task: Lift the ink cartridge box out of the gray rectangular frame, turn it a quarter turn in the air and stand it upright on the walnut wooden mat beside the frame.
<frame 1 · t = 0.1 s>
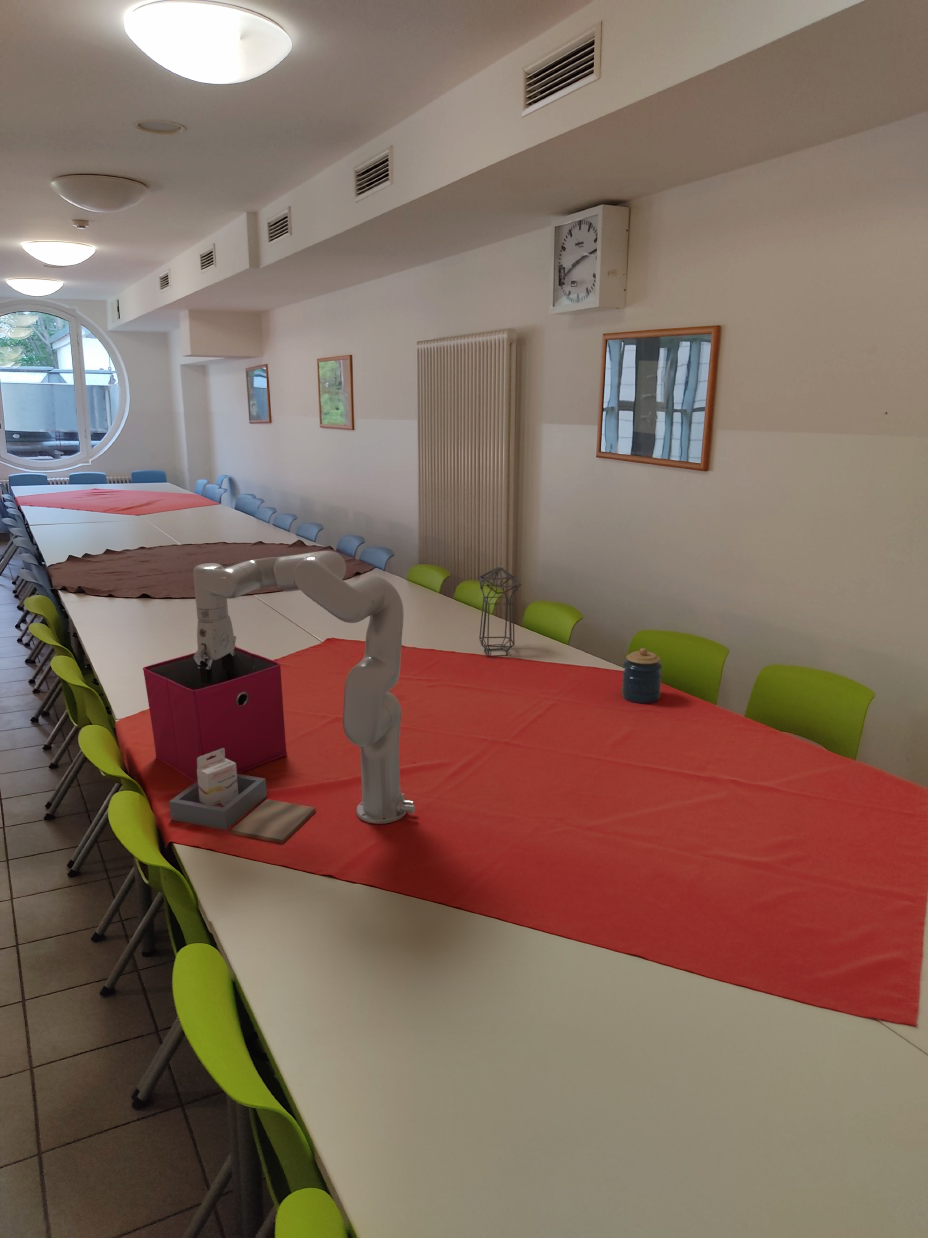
hand: (218, 676, 212), 31 cm above the table, tool pointing down, fingers open, 9 cm apart
ink cartridge box: (220, 808, 209), resting in gray rectangular frame
walnut mat: (274, 822, 202), on the table
geometric lantern: (498, 653, 328), on the table
canister: (640, 697, 281), on the table
gray rectangular frame: (220, 807, 209), on the table
storage bin: (221, 758, 237), on the table
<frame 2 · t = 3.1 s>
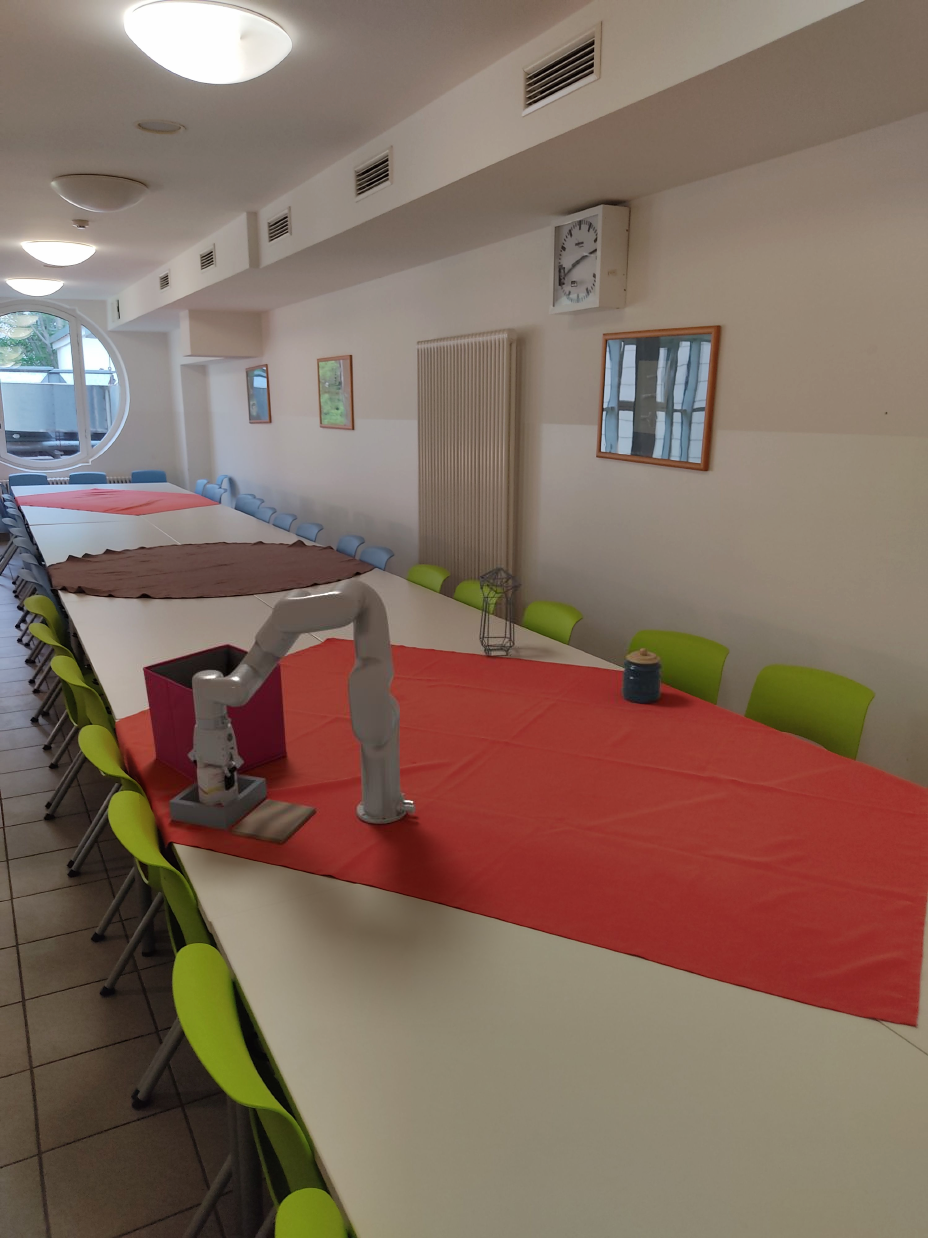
hand: (218, 785, 207), 6 cm above the table, tool pointing down, fingers closed on ink cartridge box, 6 cm apart
ink cartridge box: (220, 808, 209), resting in gray rectangular frame, touching gripper
everything else where it was.
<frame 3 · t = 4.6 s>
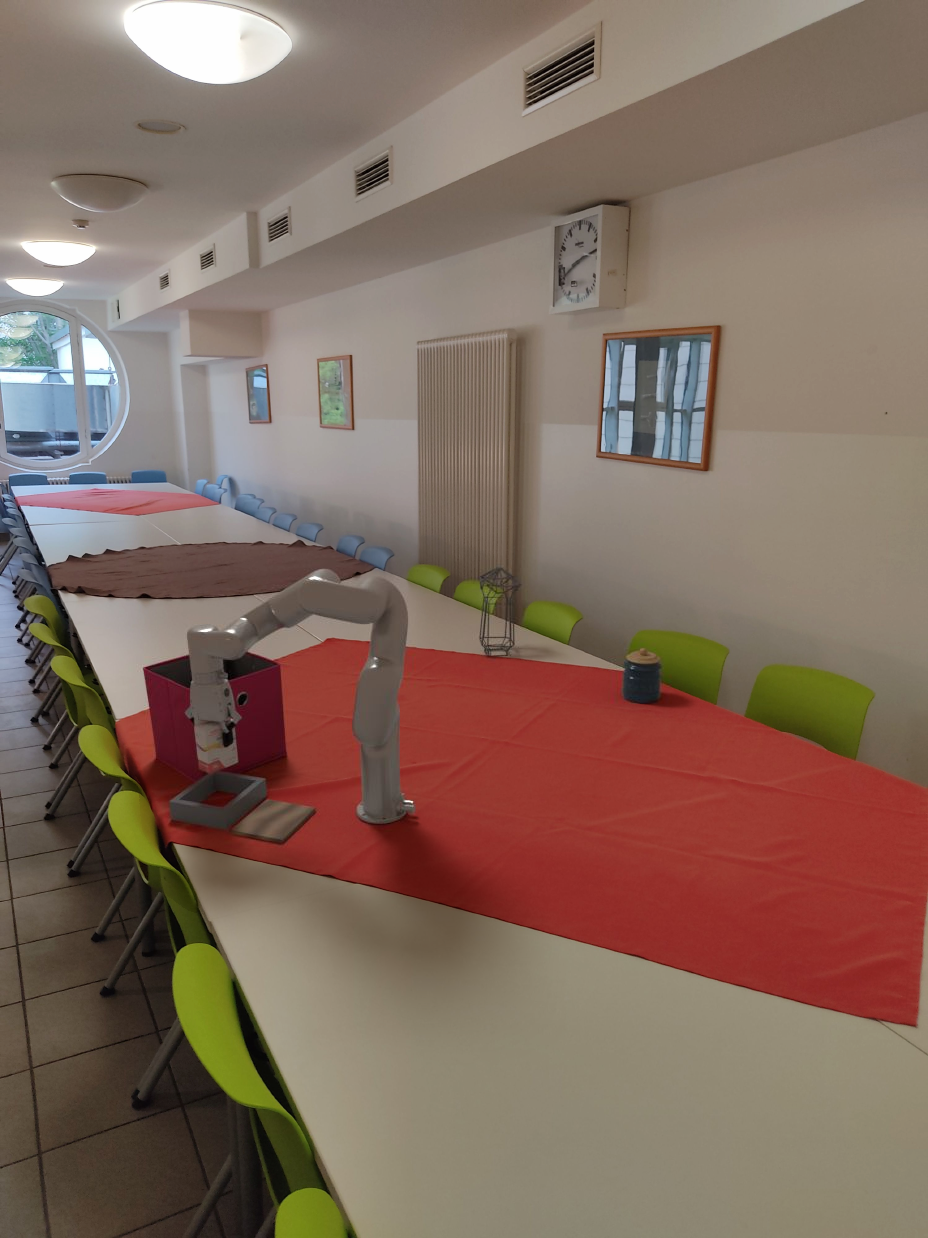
hand: (216, 743, 204), 18 cm above the table, tool pointing down, fingers closed on ink cartridge box, 6 cm apart
ink cartridge box: (219, 766, 206), point 11 cm above the table, touching gripper
everything else where it was.
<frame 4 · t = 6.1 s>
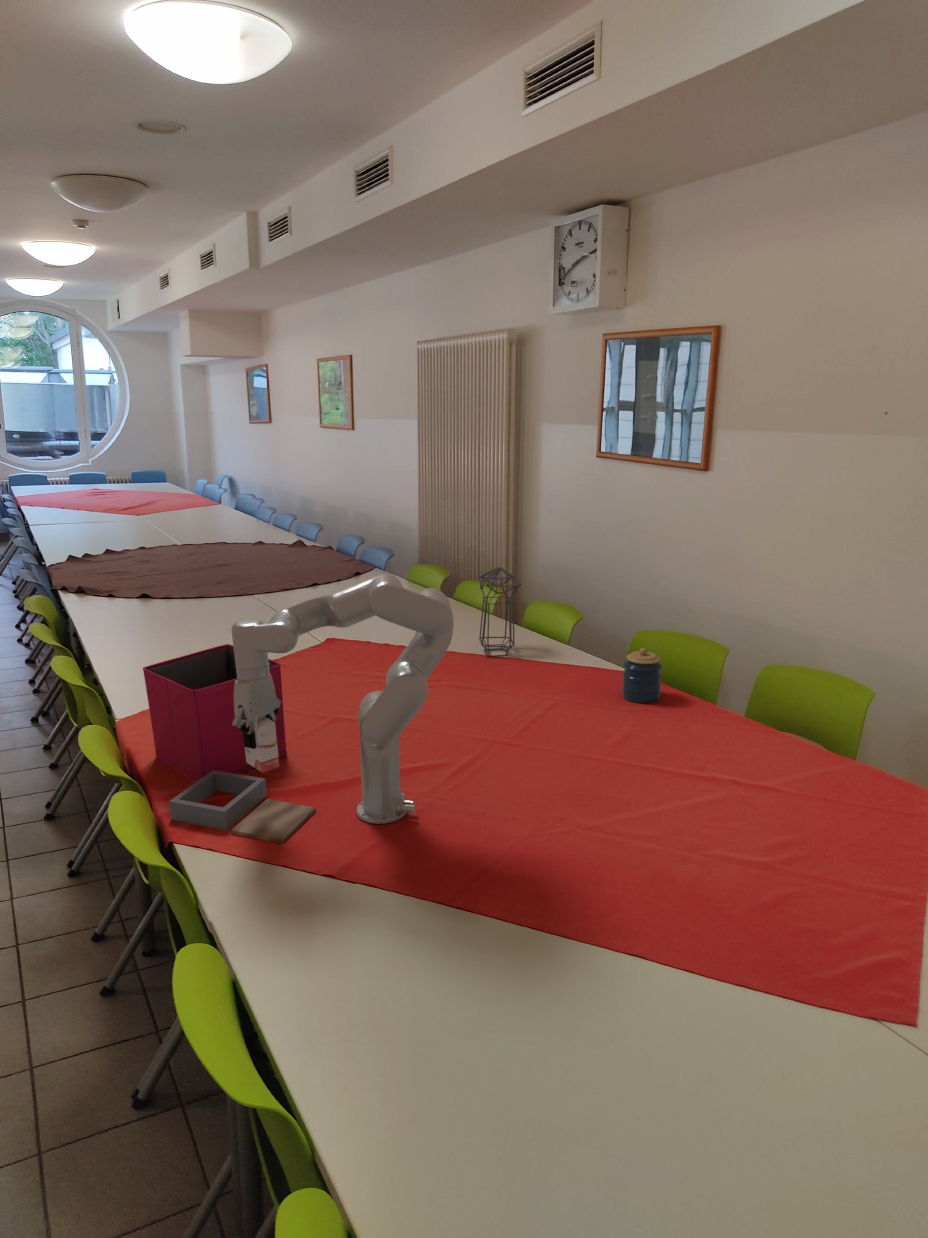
hand: (260, 741, 197), 21 cm above the table, tool pointing down, fingers closed on ink cartridge box, 6 cm apart
ink cartridge box: (263, 765, 199), point 15 cm above the table, touching gripper
everything else where it was.
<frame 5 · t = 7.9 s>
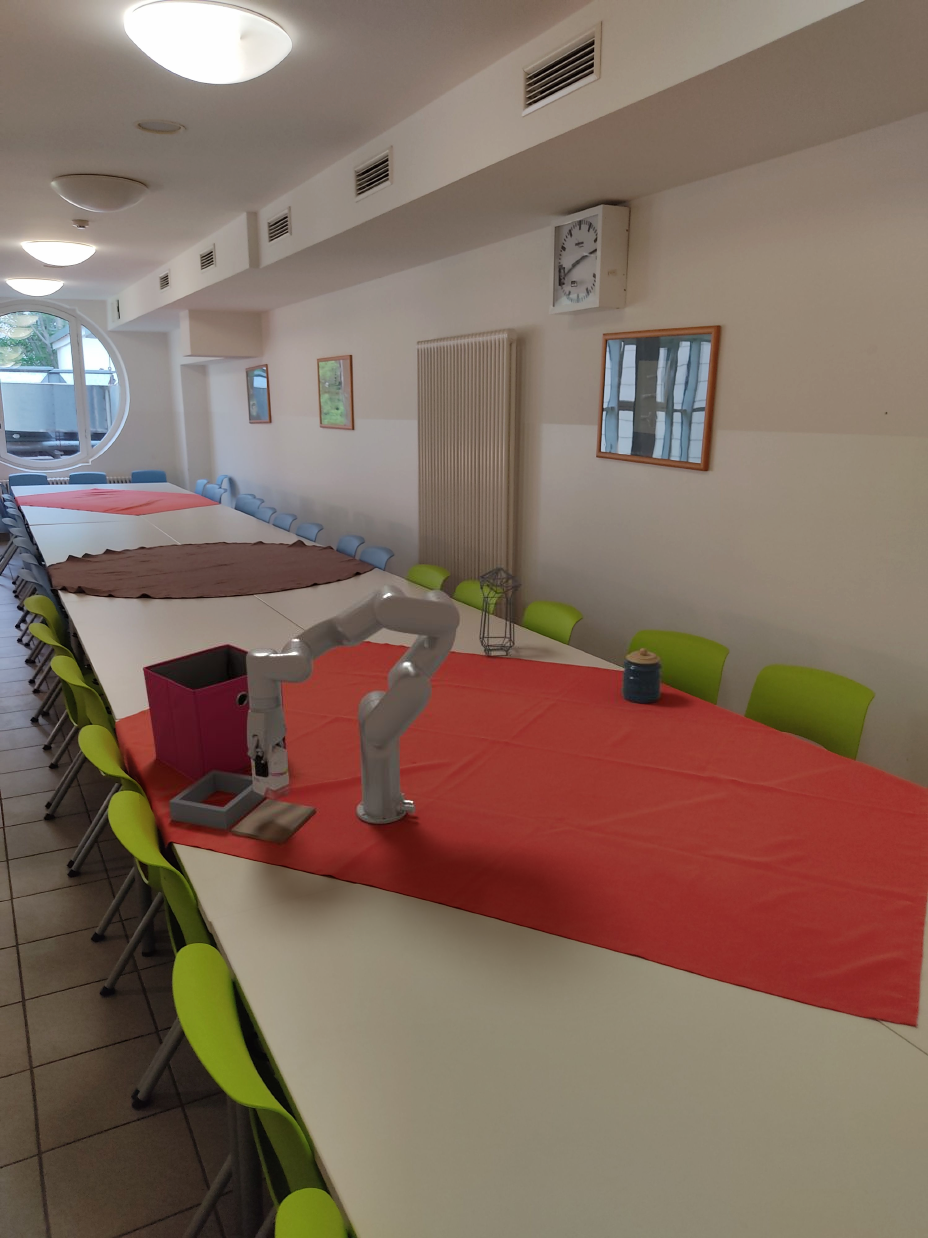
hand: (269, 769, 198), 14 cm above the table, tool pointing down, fingers closed on ink cartridge box, 6 cm apart
ink cartridge box: (271, 793, 199), point 8 cm above the table, touching gripper
everything else where it was.
when the fingers open (8 cm above the table, at t = 9.5 s): ink cartridge box stays where it is, resting on walnut mat.
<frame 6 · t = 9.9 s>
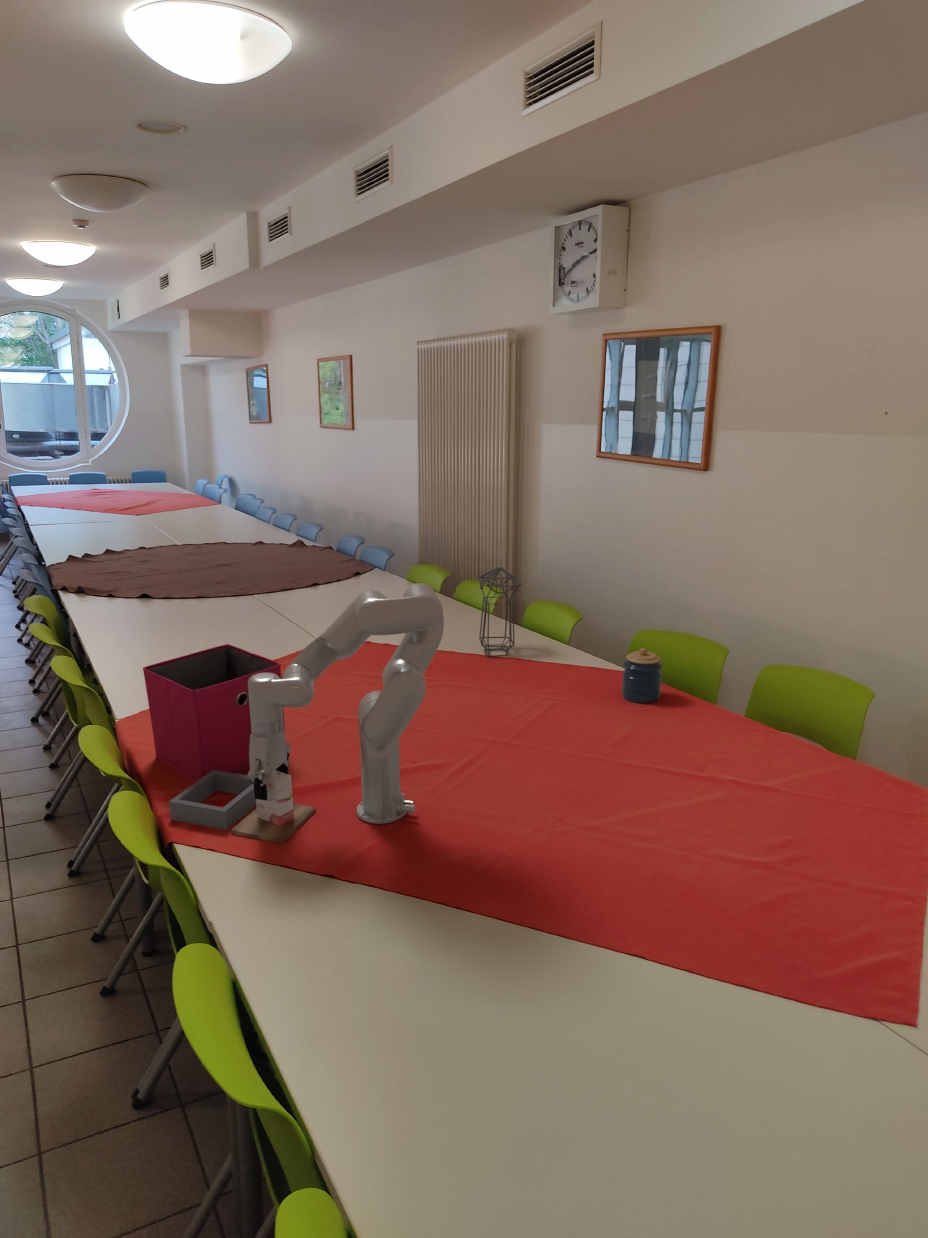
hand: (272, 789, 199), 9 cm above the table, tool pointing down, fingers open, 9 cm apart
ink cartridge box: (275, 818, 202), point 1 cm above the table, touching walnut mat
everything else where it was.
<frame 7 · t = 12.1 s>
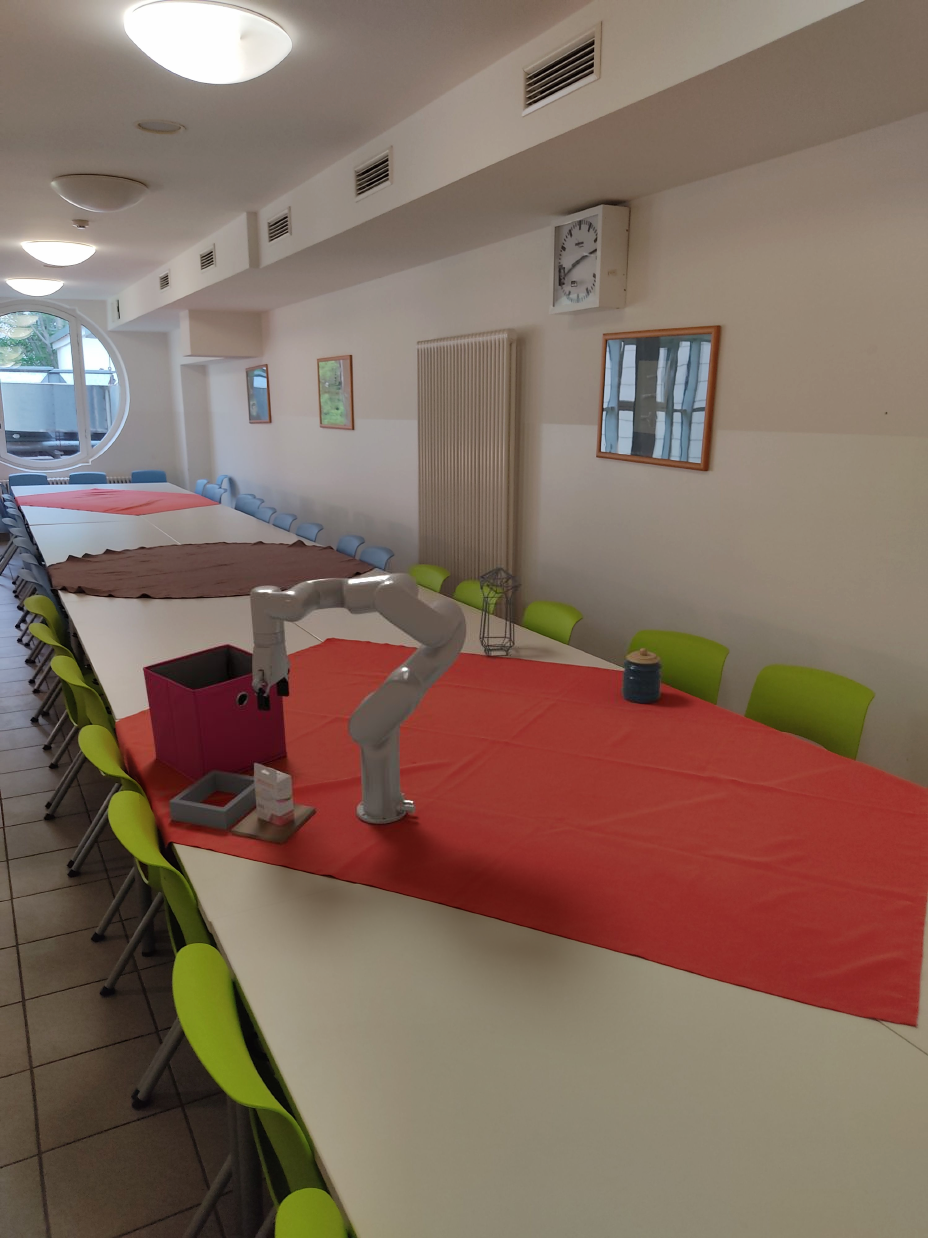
hand: (274, 702, 203), 28 cm above the table, tool pointing down, fingers open, 9 cm apart
nothing on the table moved.
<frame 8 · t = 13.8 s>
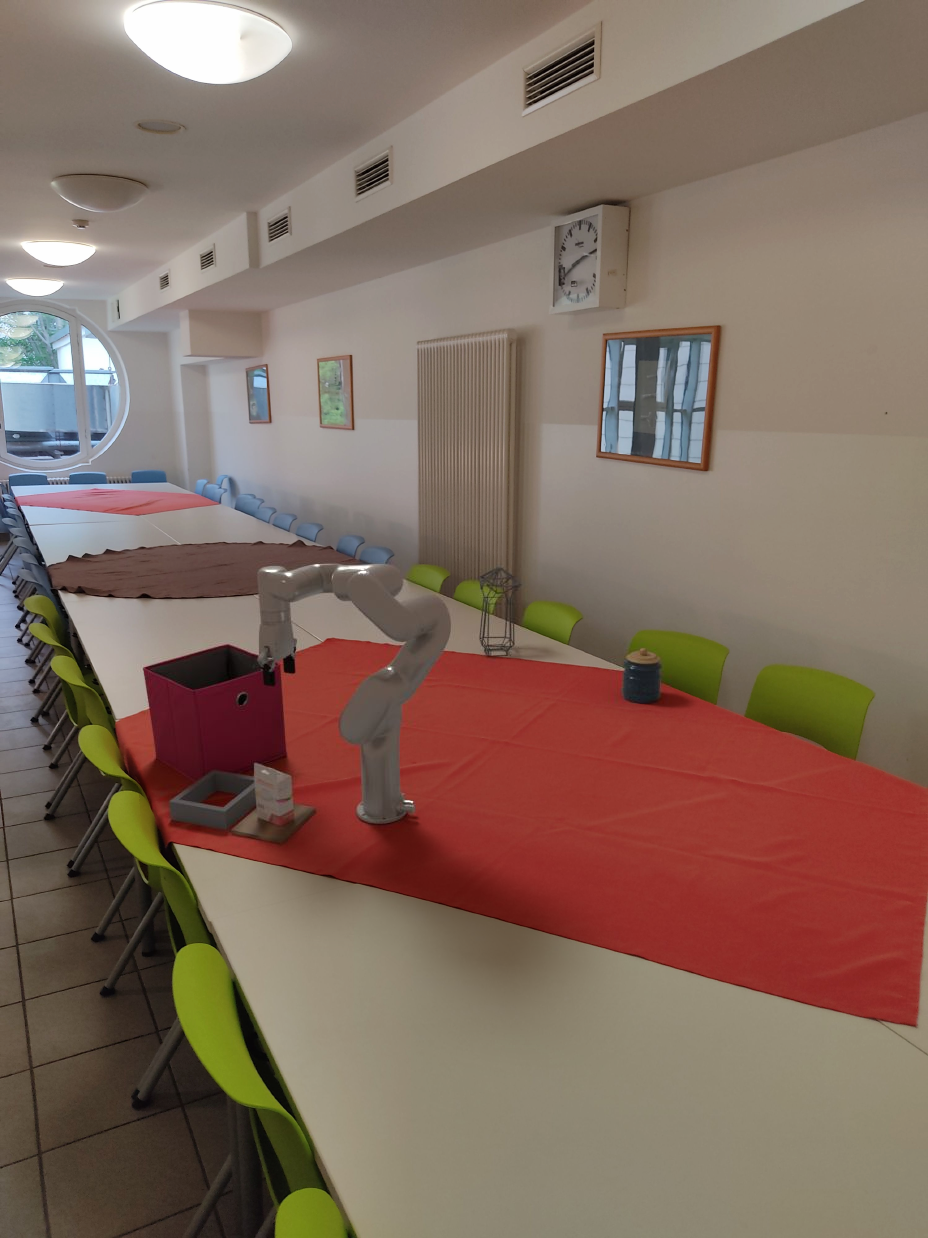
hand: (279, 679, 212), 30 cm above the table, tool pointing down, fingers open, 9 cm apart
nothing on the table moved.
at the end: ink cartridge box inside the target area on the walnut mat (0.4 cm from its centre), point 0.8 cm above the walnut mat's base; ink cartridge box tilted 0°; the gripper is holding nothing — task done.
